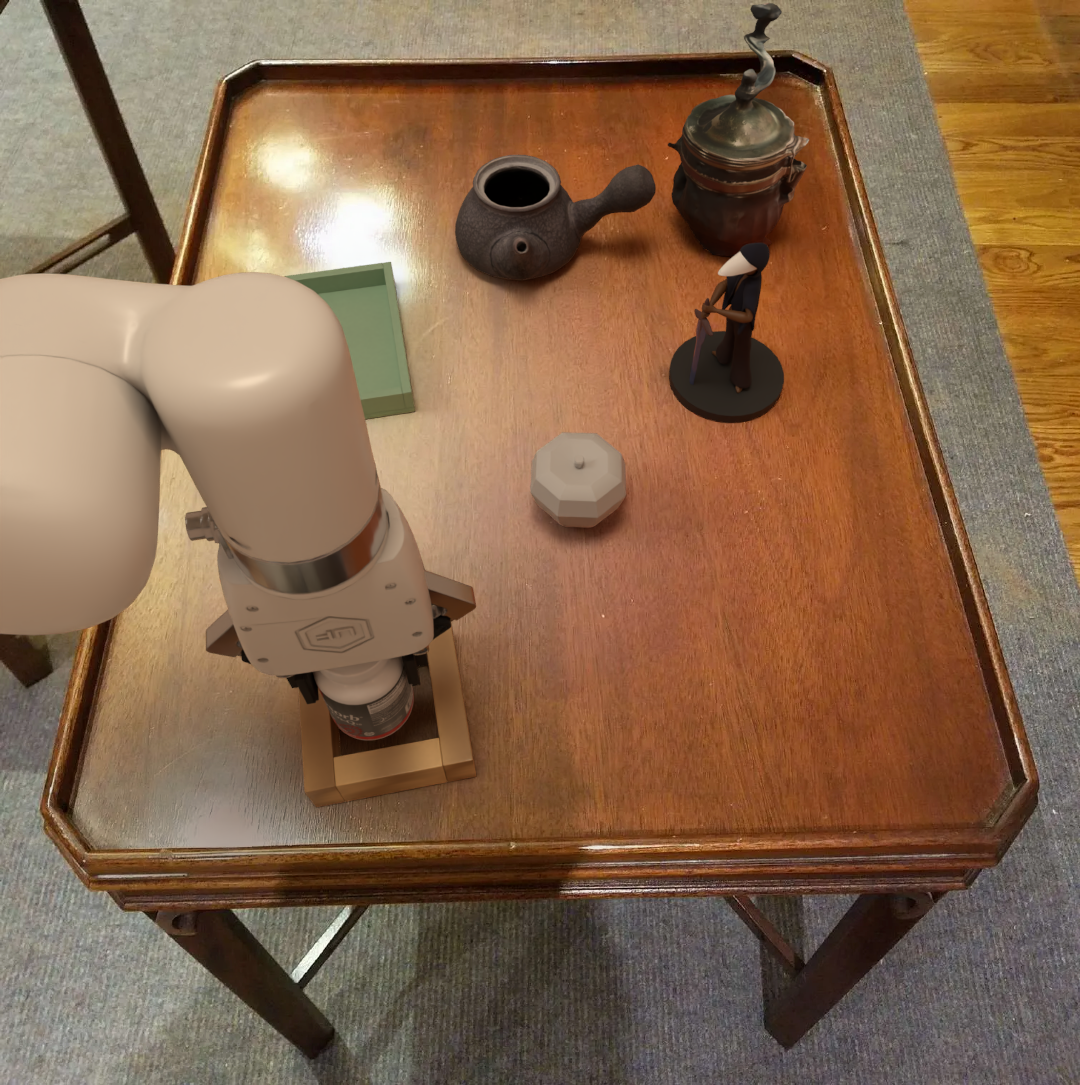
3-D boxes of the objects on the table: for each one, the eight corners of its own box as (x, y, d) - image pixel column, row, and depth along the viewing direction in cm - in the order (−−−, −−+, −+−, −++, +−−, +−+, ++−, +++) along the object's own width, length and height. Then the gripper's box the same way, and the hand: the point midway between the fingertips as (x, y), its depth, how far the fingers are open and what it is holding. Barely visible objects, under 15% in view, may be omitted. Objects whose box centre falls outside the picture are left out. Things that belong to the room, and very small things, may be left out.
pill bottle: (314, 704, 62) (281, 640, 54) (376, 649, 65) (354, 579, 56) (369, 760, 60) (344, 702, 52) (432, 701, 63) (417, 637, 54)
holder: (315, 807, 62) (304, 792, 59) (306, 661, 67) (295, 640, 64) (476, 776, 63) (473, 760, 60) (453, 635, 68) (449, 613, 66)
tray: (235, 439, 79) (226, 419, 76) (231, 305, 87) (223, 284, 85) (415, 411, 80) (411, 391, 78) (394, 282, 89) (390, 261, 87)
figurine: (650, 354, 83) (669, 218, 71) (750, 326, 85) (785, 189, 73) (698, 435, 78) (727, 304, 66) (802, 404, 80) (850, 271, 68)
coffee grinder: (779, 176, 97) (822, 1, 82) (787, 272, 89) (836, 98, 74) (659, 170, 98) (680, -5, 82) (656, 265, 90) (678, 91, 75)
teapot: (456, 314, 86) (446, 227, 78) (456, 207, 95) (448, 118, 86) (655, 307, 87) (666, 220, 78) (638, 202, 95) (647, 112, 86)
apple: (640, 488, 76) (647, 438, 70) (603, 562, 72) (608, 516, 66) (552, 456, 77) (552, 405, 72) (511, 527, 74) (508, 479, 68)
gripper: (112, 615, 40) (226, 753, 55) (497, 553, 42) (505, 704, 57) (120, 479, 44) (224, 643, 59) (472, 429, 46) (486, 600, 61)
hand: (362, 672), depth 58 cm, fingers closed on pill bottle, 5 cm apart
